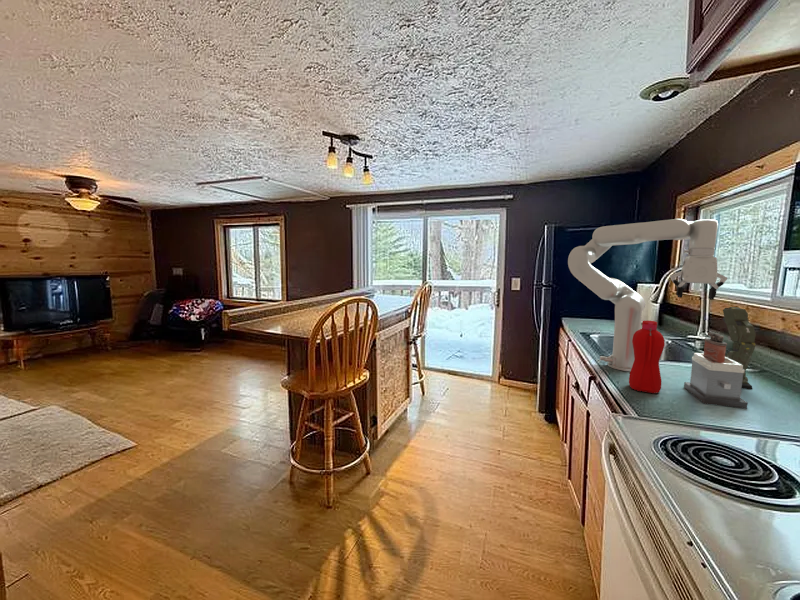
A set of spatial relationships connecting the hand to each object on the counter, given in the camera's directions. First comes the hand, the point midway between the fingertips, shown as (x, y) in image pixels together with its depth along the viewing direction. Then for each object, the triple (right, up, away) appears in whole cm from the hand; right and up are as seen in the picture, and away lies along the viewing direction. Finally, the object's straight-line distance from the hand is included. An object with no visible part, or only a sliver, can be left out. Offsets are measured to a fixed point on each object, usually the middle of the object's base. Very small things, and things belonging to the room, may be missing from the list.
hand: (695, 298), depth 137 cm
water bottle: (-26, -33, -9) cm, 43 cm away
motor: (-7, -34, -15) cm, 38 cm away
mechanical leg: (+13, -33, -1) cm, 35 cm away
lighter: (-7, -22, -16) cm, 28 cm away
